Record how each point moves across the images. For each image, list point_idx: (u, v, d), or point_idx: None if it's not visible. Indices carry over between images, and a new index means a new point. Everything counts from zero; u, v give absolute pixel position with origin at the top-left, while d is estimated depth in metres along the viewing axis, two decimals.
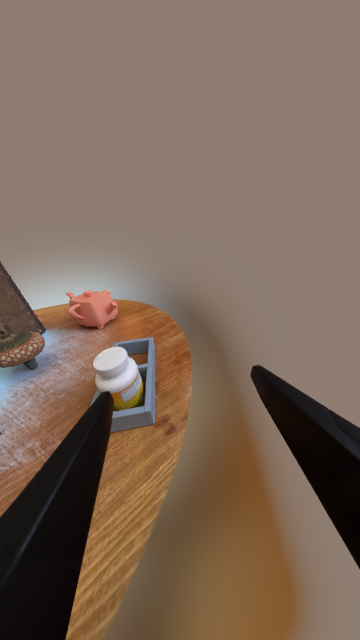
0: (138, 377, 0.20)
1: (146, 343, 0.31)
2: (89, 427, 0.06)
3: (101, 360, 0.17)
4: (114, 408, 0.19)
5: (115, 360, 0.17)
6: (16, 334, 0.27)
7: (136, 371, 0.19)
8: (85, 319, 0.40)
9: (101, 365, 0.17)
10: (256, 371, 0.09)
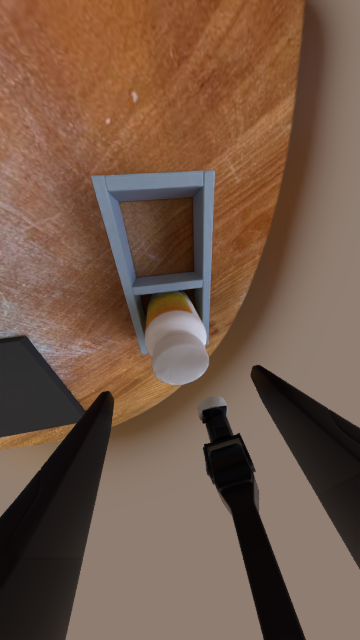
0: None
1: (192, 190, 0.11)
2: (89, 427, 0.06)
3: (169, 372, 0.10)
4: None
5: (194, 371, 0.10)
6: None
7: (205, 338, 0.13)
8: None
9: (173, 379, 0.10)
10: (256, 371, 0.09)
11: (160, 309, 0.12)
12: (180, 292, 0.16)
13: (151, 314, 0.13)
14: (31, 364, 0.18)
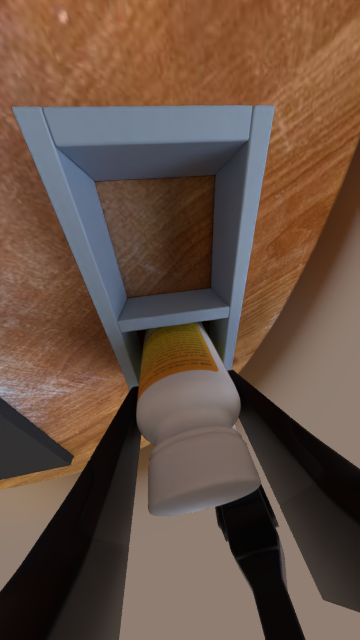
0: None
1: (222, 153, 0.06)
2: (128, 420, 0.07)
3: (182, 508, 0.05)
4: None
5: (228, 498, 0.05)
6: None
7: None
8: None
9: (188, 510, 0.05)
10: None
11: (163, 361, 0.07)
12: None
13: (148, 366, 0.08)
14: None
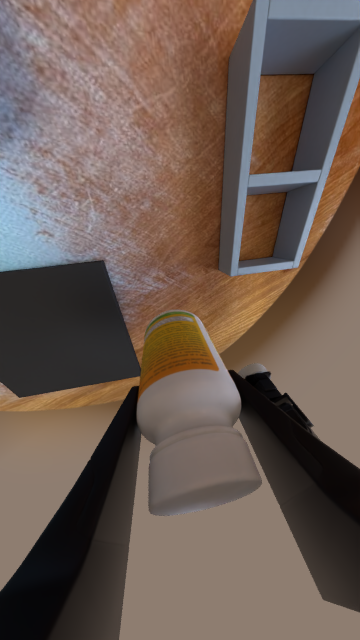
0: None
1: (342, 36, 0.09)
2: (128, 419, 0.07)
3: (182, 508, 0.05)
4: None
5: (229, 498, 0.05)
6: None
7: None
8: None
9: (189, 510, 0.05)
10: None
11: (164, 361, 0.07)
12: (192, 319, 0.11)
13: (148, 366, 0.08)
14: (105, 295, 0.17)
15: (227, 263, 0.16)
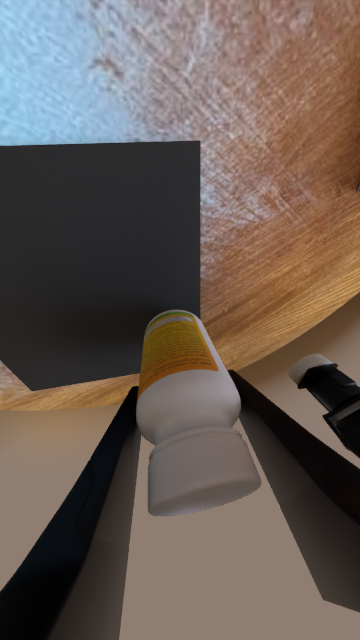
0: None
1: None
2: (128, 420, 0.07)
3: (181, 508, 0.05)
4: None
5: (229, 498, 0.05)
6: None
7: None
8: None
9: (188, 510, 0.05)
10: None
11: (163, 361, 0.07)
12: (191, 319, 0.11)
13: (148, 366, 0.08)
14: (189, 218, 0.10)
15: None
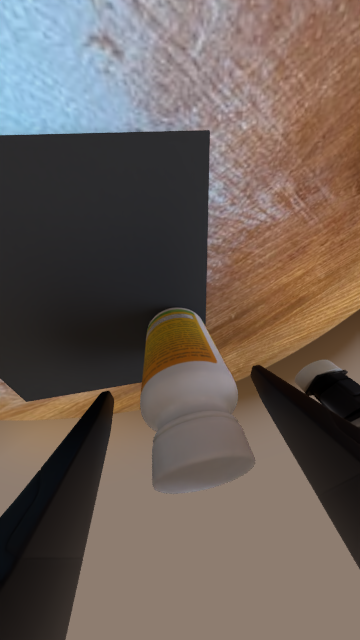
0: None
1: None
2: (89, 427, 0.06)
3: (183, 485, 0.06)
4: None
5: (226, 477, 0.06)
6: None
7: None
8: None
9: (189, 489, 0.06)
10: (256, 371, 0.09)
11: (166, 354, 0.08)
12: (192, 316, 0.11)
13: (151, 359, 0.08)
14: (196, 217, 0.09)
15: None
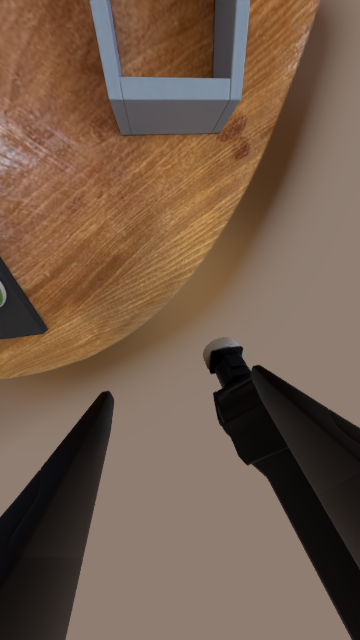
0: None
1: None
2: (89, 427, 0.06)
3: None
4: None
5: None
6: None
7: None
8: None
9: None
10: (256, 371, 0.09)
11: None
12: None
13: None
14: None
15: None
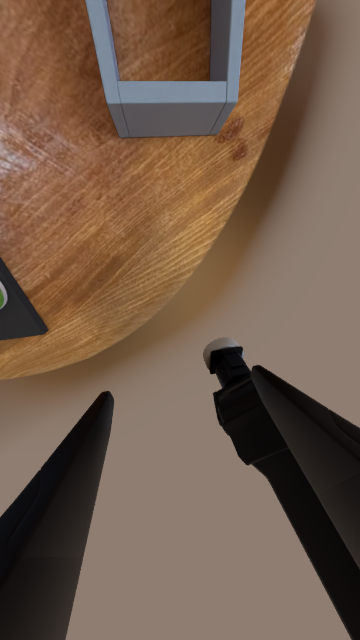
0: None
1: None
2: (89, 427, 0.06)
3: None
4: None
5: None
6: None
7: None
8: None
9: None
10: (256, 371, 0.09)
11: None
12: None
13: None
14: None
15: None
